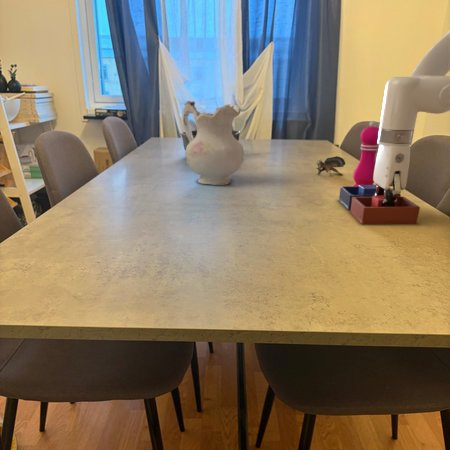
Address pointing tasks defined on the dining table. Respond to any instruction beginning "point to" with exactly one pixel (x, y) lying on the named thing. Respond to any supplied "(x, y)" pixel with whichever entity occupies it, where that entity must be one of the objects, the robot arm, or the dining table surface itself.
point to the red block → (378, 201)
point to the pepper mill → (367, 156)
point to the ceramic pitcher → (213, 144)
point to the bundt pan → (194, 133)
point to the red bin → (384, 211)
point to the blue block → (366, 189)
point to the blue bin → (351, 195)
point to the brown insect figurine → (330, 164)
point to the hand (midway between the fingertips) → (382, 214)
